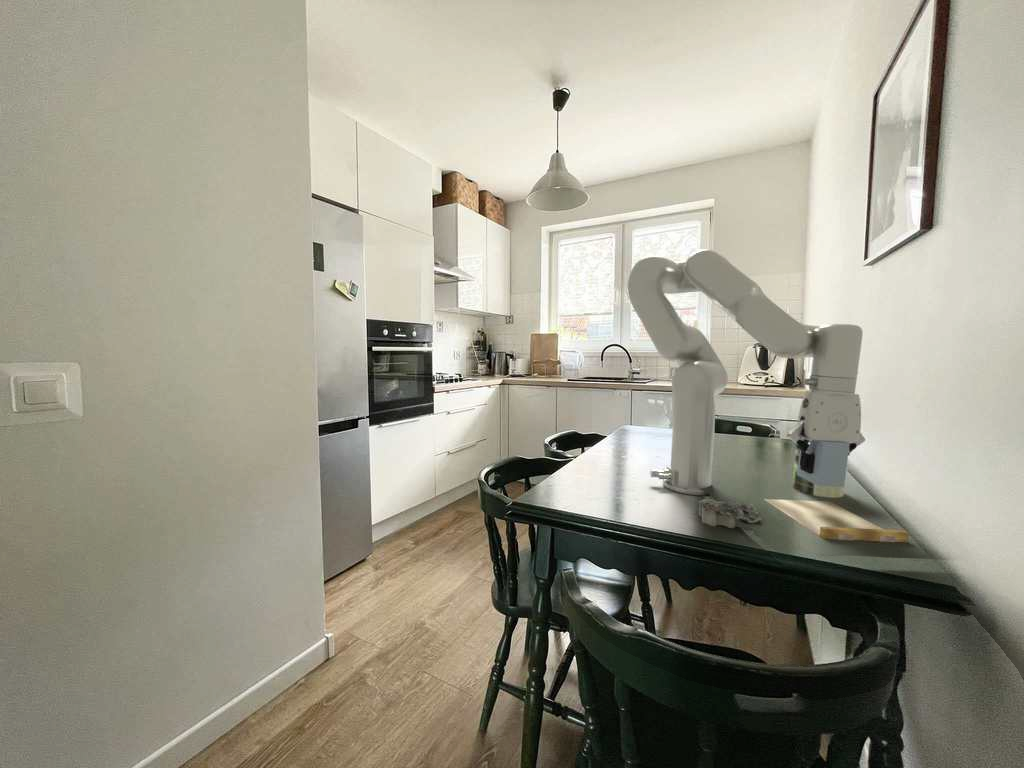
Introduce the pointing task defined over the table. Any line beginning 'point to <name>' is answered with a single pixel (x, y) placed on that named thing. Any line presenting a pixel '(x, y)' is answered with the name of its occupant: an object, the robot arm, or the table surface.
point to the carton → (827, 464)
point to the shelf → (836, 521)
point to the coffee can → (811, 488)
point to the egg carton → (726, 513)
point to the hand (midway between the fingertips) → (821, 471)
